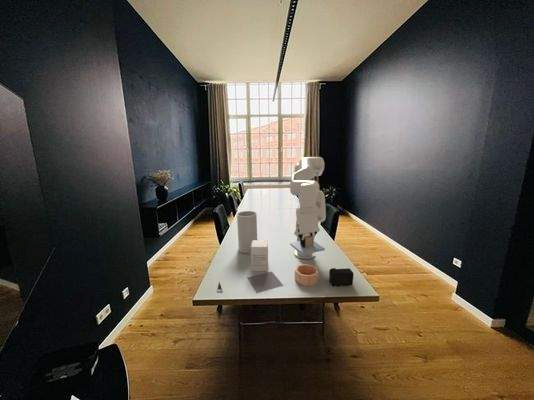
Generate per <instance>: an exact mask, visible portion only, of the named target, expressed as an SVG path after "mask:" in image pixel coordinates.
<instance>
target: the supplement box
mask: <svg viewBox="0 0 534 400" xmlns="http://www.w3.org/2000/svg"><path fill="white" fill-rule="evenodd" d="M250 254H251V255H250V256H251V272H269V245H268V239H267V240H266V239H262V240H261V239H259V240H258V239H257V240H253V241H252V245H251V253H250Z"/></svg>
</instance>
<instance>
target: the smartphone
mask: <svg viewBox="0 0 534 400" xmlns="http://www.w3.org/2000/svg"><path fill="white" fill-rule="evenodd" d="M223 292H224V290H223V288H222V285H221V283H220V281H218V286H217V291H216V293H223Z"/></svg>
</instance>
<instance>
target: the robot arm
mask: <svg viewBox="0 0 534 400" xmlns="http://www.w3.org/2000/svg"><path fill="white" fill-rule="evenodd" d="M324 170H325V161H324V158H323V157H321V156H305V157H302V158H301V159H300V160H299V161H298V163H297V164H295V166H294V173H293V174H292V176H291V177H290V181H289V182H290V183H289V191H290V194H291V195H293V196H296V197H297V196H298V197H297V198H298V203H299V206H297V208H296V210H295V215H296V222H295V231H294V232H293V235H295V236H296V242H298V241H300V245H301V246H302V247H305V240H304V237H305V234H309V235H311V236H313V243H314V242H315V237H316V235H317V233H319V232H321V229H320V227H319V223H323V222H325V220H326V219H327V218H326V217H327V213H326V211H327V210H326V209H327V208H326V198H325V197H326V196H325V193H324V192H323V190H321V189H320V183H319V182H318V181H317V180H313V178H314V177H319V176H322V174H323V173H324ZM315 253H316V252H315ZM315 253H310V254H306V255H302V254H301V253H300V252H298V251H297V250H296V249H295V250H294V253H293V254H294V257H296V258H297V259H298V258H299V259H301V260H310V259H313V258H314V257H315V255H316V254H315Z"/></svg>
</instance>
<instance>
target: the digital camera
mask: <svg viewBox="0 0 534 400" xmlns="http://www.w3.org/2000/svg"><path fill="white" fill-rule="evenodd" d="M328 273H329V274H328V283H329V285H330V287H333V288H336V287H335V286H337V287H350V285H353V284H354V272H353V270H352V269H351V268H335V267H331V268H329V270H328Z"/></svg>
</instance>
